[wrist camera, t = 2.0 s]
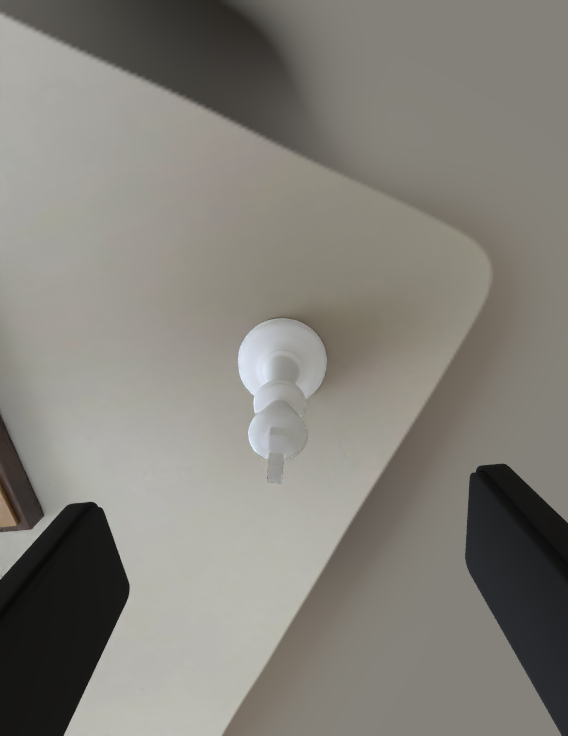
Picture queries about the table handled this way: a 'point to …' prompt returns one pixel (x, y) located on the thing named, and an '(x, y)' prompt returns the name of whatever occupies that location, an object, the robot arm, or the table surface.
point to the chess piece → (280, 387)
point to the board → (15, 491)
